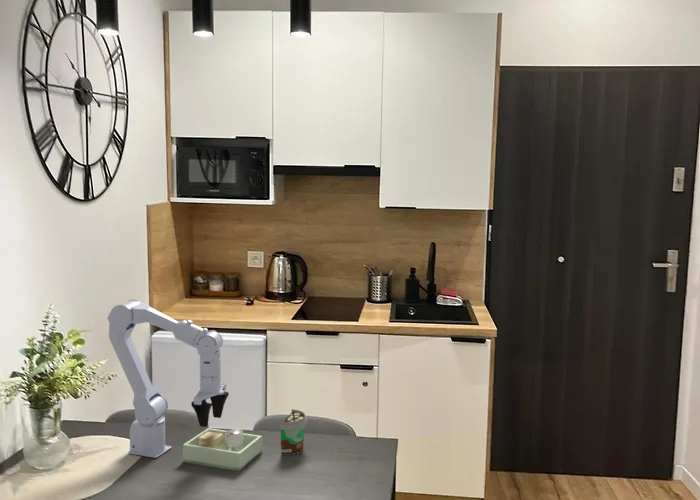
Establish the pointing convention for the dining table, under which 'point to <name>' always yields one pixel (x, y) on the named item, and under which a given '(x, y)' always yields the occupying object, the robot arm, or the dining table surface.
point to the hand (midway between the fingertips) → (210, 421)
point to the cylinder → (234, 440)
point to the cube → (211, 440)
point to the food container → (293, 432)
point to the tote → (222, 452)
